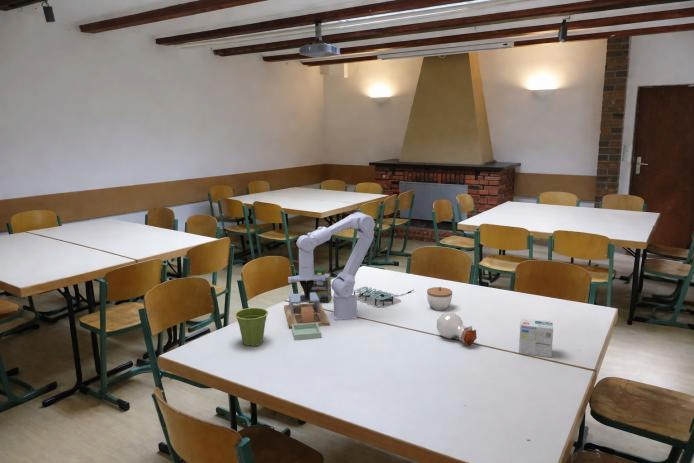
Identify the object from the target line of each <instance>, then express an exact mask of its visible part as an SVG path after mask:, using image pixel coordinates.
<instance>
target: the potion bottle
mask: <svg viewBox="0 0 694 463" xmlns="http://www.w3.org/2000/svg"><path fill="white" fill-rule="evenodd" d="M463 323H464V322H463V320H462V318H461V317H460V315H458V314H456V313H455V312H449V311H447V312H446V311H445V312H444V313H443V314H442V313H441V315H440V316H439V317H438V319H437V320H436V330H437V332H438V333H439V334H440V336H442V337H444V338H445V339H451V340H452V339H454V338H456V337H458V339H459V341H460V342H461V343H463V344H464V345H468V346H470V347H471V345H472V344H473V343H474V342H475V341H476V340H477V338H478V337H477V329H473V326H472V325H471V326H465V325H464V324H463Z"/></svg>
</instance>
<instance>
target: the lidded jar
mask: <svg viewBox="0 0 694 463" xmlns="http://www.w3.org/2000/svg"><path fill="white" fill-rule="evenodd" d="M426 293H427V294H426V298H427V302H428V304H429V306H430V307H431V309H432V310H435V311H445V310H447V308H448V307H449V306H450V304H451V303H452V298H453V290H451V289H450V288H447V287H441V286H434V287H429V288H427V289H426Z"/></svg>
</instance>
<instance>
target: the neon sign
mask: <svg viewBox="0 0 694 463" xmlns="http://www.w3.org/2000/svg"><path fill="white" fill-rule="evenodd" d="M413 291H414V289H412V290H410V291H408V292H406V293H403V294H402V296H404V295H407V294H409V293H411V292H413ZM356 293H357V294H356ZM353 295H355V296H356V299H357V302H360V303H362V304H366V305H368V306H372V307H373V308H378V309H385V308H388V307H391V306H394V305H397V304H399V303H401V302H402V300H401V299H399V298H397V297H395V296H397V294H394V293H392V292H388V291H385V290H384V291H383V290H381V289H380V290H379V289H378V290H377V289H376V288H372V287H369V286H362V287H360V288H356V289H353Z"/></svg>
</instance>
